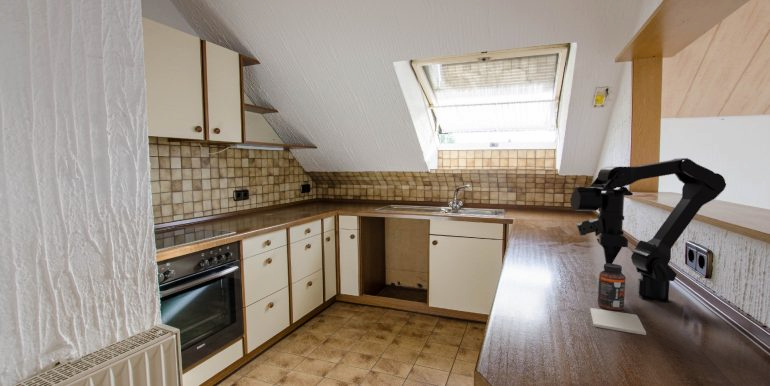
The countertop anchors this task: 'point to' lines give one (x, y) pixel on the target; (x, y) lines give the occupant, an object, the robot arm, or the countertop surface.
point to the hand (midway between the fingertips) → (608, 265)
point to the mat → (617, 321)
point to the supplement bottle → (611, 287)
